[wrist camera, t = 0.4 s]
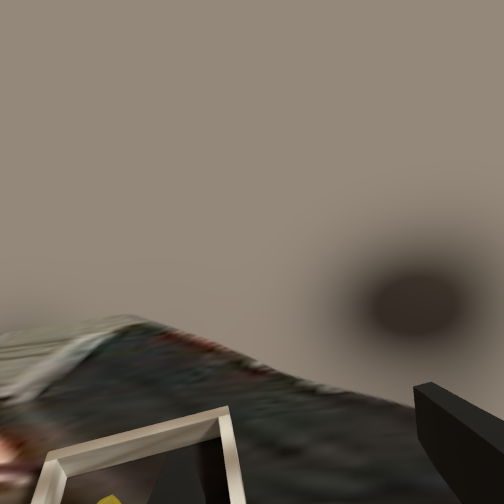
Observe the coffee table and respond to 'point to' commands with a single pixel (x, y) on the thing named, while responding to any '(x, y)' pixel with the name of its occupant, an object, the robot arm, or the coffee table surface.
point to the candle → (109, 500)
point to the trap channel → (141, 452)
